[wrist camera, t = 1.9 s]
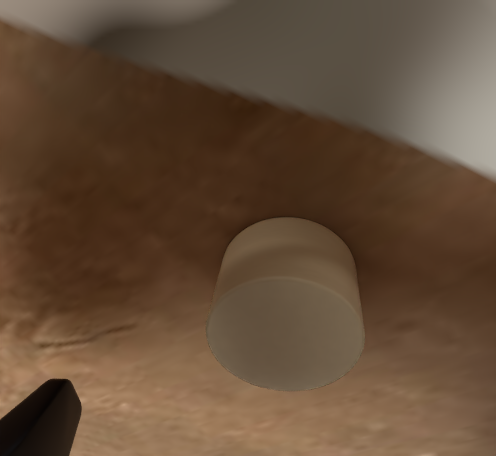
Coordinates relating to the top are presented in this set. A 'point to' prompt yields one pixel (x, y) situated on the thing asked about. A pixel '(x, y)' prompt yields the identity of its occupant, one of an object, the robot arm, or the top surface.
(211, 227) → the top surface
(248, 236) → the cylinder
